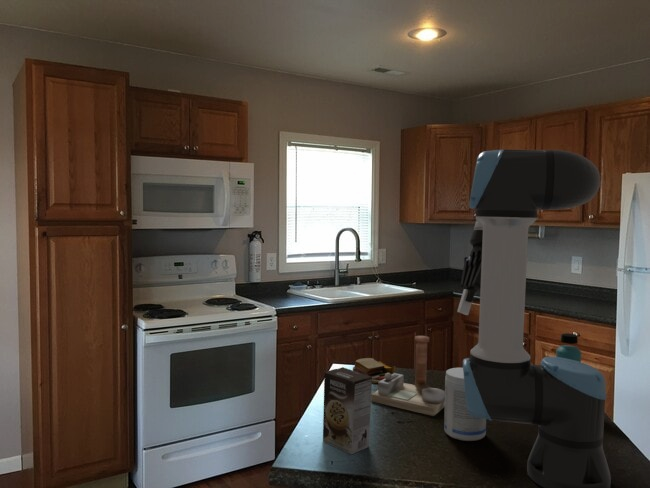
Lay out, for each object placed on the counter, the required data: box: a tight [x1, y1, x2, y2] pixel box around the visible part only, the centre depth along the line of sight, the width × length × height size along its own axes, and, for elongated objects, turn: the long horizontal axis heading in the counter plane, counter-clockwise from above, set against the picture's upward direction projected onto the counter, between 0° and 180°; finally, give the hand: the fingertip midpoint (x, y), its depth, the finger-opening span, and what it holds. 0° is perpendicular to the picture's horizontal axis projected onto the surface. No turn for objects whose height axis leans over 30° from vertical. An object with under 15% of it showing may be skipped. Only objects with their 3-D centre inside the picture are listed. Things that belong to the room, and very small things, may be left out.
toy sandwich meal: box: [352, 357, 397, 384], centre depth 171 cm, size 12×14×5 cm
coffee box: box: [322, 367, 373, 455], centre depth 122 cm, size 9×6×16 cm
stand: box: [371, 372, 445, 417], centre depth 150 cm, size 14×18×7 cm
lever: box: [414, 335, 445, 403], centre depth 149 cm, size 14×6×14 cm, turn 12°
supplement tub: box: [443, 367, 487, 442], centre depth 129 cm, size 10×10×15 cm
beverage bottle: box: [555, 333, 582, 362], centre depth 147 cm, size 6×7×20 cm
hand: (462, 313), depth 149 cm, fingers closed
